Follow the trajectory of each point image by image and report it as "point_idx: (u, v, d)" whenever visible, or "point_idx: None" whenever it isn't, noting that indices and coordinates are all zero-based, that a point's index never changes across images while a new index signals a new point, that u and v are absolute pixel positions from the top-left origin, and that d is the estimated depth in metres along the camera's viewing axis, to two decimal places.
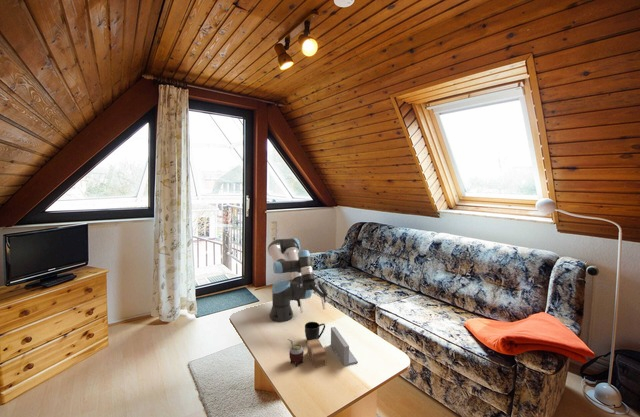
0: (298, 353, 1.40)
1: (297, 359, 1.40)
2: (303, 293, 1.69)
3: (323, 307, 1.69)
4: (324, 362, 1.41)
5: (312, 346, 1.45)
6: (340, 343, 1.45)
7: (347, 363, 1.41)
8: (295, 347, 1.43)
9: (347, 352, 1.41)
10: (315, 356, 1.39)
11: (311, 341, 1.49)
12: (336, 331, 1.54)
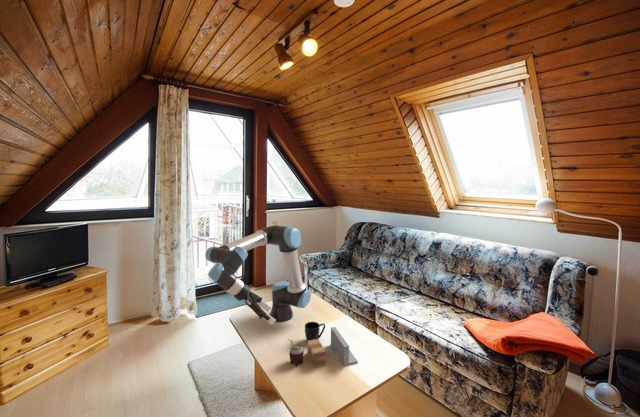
0: (298, 353, 1.40)
1: (297, 359, 1.40)
2: None
3: None
4: (324, 362, 1.41)
5: (312, 346, 1.45)
6: (340, 343, 1.45)
7: (347, 363, 1.41)
8: (295, 347, 1.43)
9: (347, 352, 1.41)
10: (315, 356, 1.39)
11: (311, 341, 1.49)
12: (336, 331, 1.54)
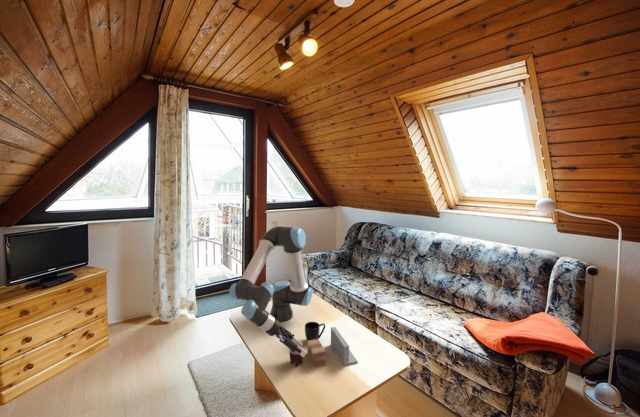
0: None
1: (297, 359, 1.40)
2: None
3: None
4: (324, 362, 1.41)
5: (312, 346, 1.45)
6: (340, 343, 1.45)
7: (347, 363, 1.41)
8: None
9: (347, 352, 1.41)
10: (315, 356, 1.39)
11: (311, 341, 1.49)
12: (336, 331, 1.54)
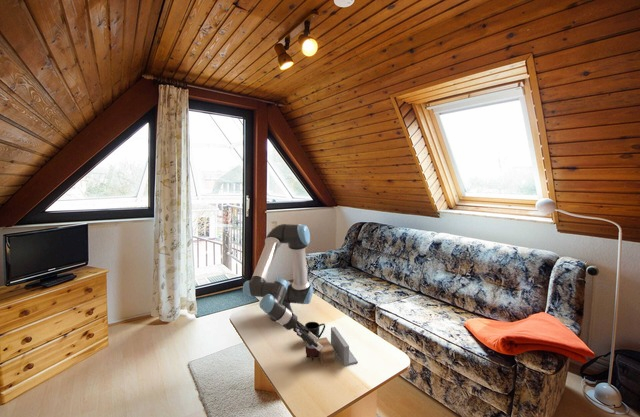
0: None
1: (313, 353, 1.42)
2: None
3: None
4: (333, 360, 1.43)
5: (321, 344, 1.47)
6: (340, 343, 1.45)
7: (347, 363, 1.41)
8: None
9: (347, 352, 1.41)
10: (324, 354, 1.41)
11: (319, 340, 1.51)
12: (336, 331, 1.54)
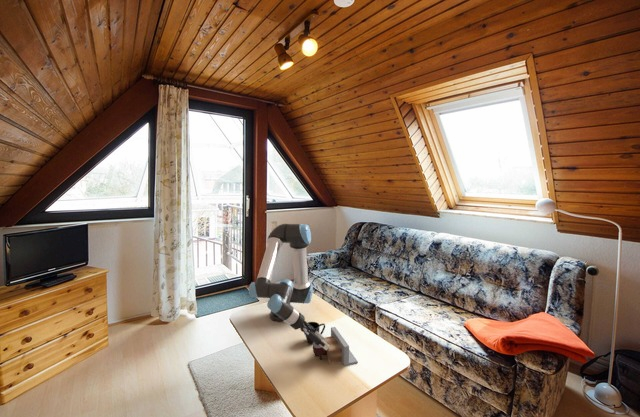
0: None
1: (321, 352, 1.43)
2: None
3: None
4: (340, 359, 1.44)
5: (328, 343, 1.48)
6: (340, 343, 1.45)
7: (347, 363, 1.41)
8: None
9: (347, 352, 1.41)
10: (331, 353, 1.42)
11: (326, 339, 1.52)
12: (336, 331, 1.54)
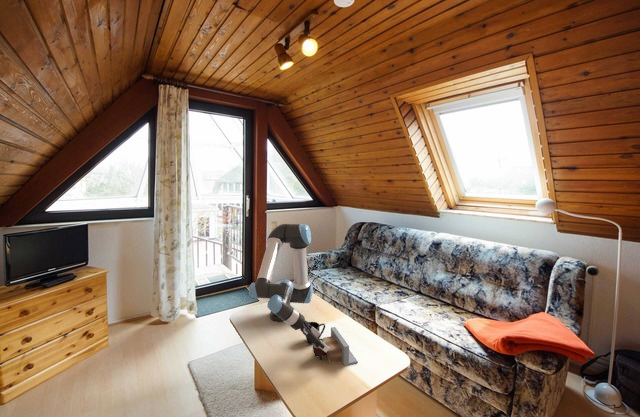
0: None
1: (321, 352, 1.43)
2: None
3: None
4: (340, 359, 1.44)
5: (328, 343, 1.48)
6: (340, 343, 1.45)
7: (347, 363, 1.41)
8: None
9: (347, 352, 1.41)
10: (331, 353, 1.42)
11: (326, 339, 1.52)
12: (336, 331, 1.54)
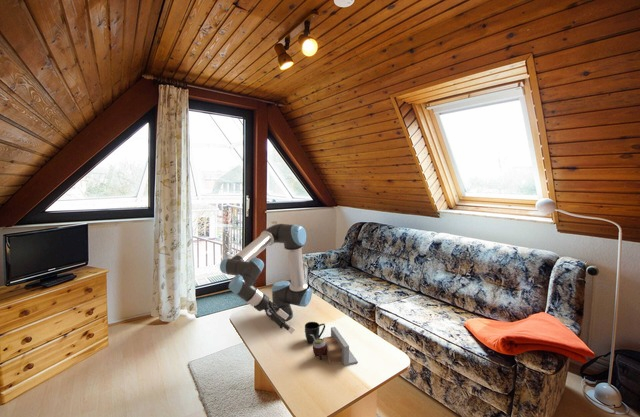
0: (321, 346, 1.43)
1: (321, 352, 1.43)
2: None
3: None
4: (340, 359, 1.44)
5: (328, 343, 1.48)
6: (340, 343, 1.45)
7: (347, 363, 1.41)
8: (317, 341, 1.47)
9: (347, 352, 1.41)
10: (331, 353, 1.42)
11: (326, 339, 1.52)
12: (336, 331, 1.54)
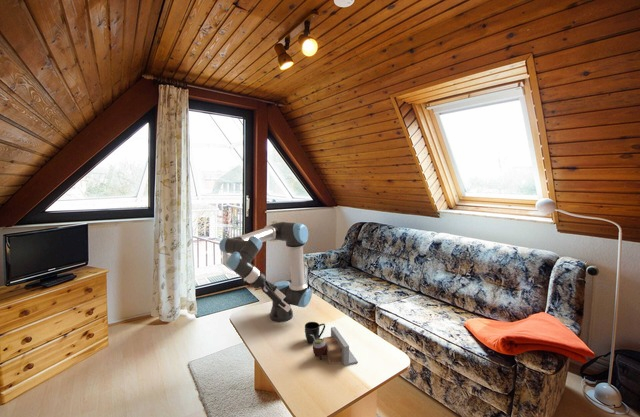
0: (321, 346, 1.43)
1: (321, 352, 1.43)
2: None
3: None
4: (340, 359, 1.44)
5: (328, 343, 1.48)
6: (340, 343, 1.45)
7: (347, 363, 1.41)
8: (317, 341, 1.47)
9: (347, 352, 1.41)
10: (331, 353, 1.42)
11: (326, 339, 1.52)
12: (336, 331, 1.54)
